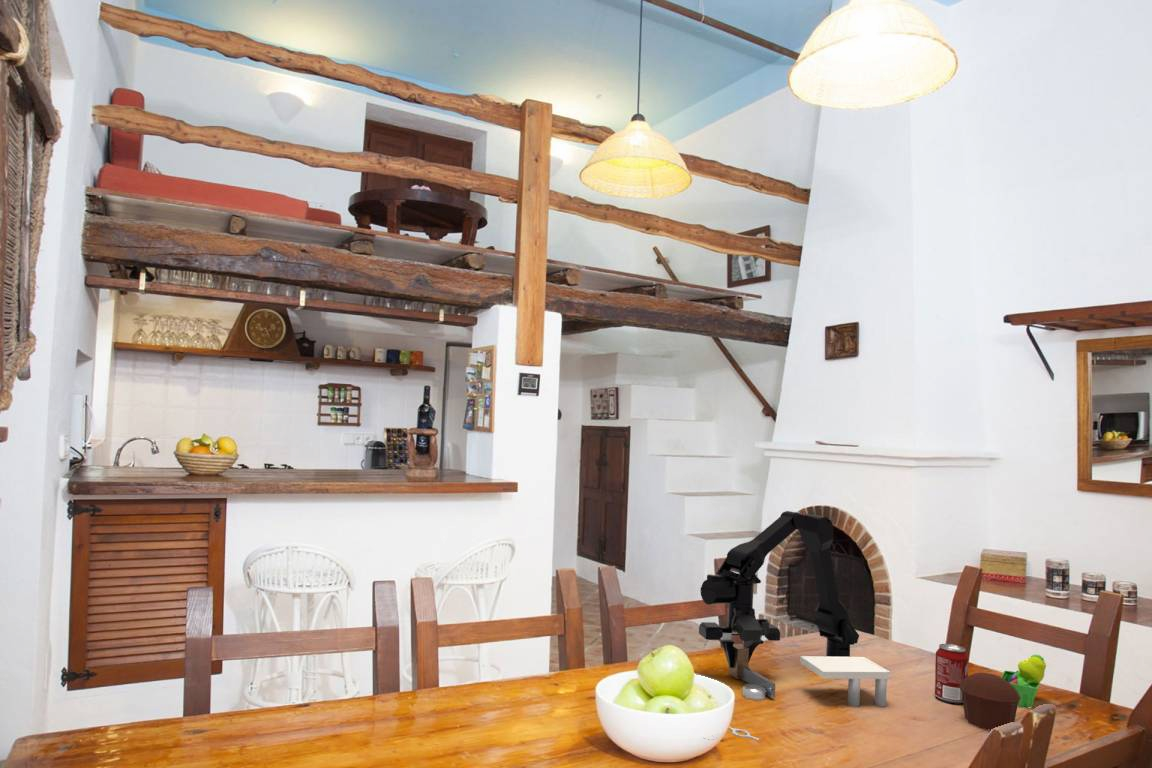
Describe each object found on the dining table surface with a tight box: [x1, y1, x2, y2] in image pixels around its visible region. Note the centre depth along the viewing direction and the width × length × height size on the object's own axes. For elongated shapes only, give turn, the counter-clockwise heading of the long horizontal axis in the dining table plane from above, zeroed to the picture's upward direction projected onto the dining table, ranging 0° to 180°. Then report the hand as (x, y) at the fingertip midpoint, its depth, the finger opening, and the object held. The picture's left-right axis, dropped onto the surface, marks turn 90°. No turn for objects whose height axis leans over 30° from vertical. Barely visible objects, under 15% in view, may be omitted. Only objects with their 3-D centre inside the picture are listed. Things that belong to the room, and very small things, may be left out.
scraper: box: [728, 643, 776, 699], centre depth 177 cm, size 17×3×7 cm, turn 18°
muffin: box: [959, 672, 1021, 731], centre depth 163 cm, size 12×11×10 cm
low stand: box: [799, 655, 891, 708], centre depth 174 cm, size 11×16×8 cm
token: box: [741, 683, 766, 701], centre depth 171 cm, size 5×5×2 cm
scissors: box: [728, 726, 760, 742], centre depth 154 cm, size 11×1×20 cm
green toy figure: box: [1000, 653, 1047, 708], centre depth 179 cm, size 11×9×11 cm
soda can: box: [934, 643, 969, 705], centre depth 177 cm, size 7×7×12 cm
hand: (737, 667), depth 184 cm, fingers closed on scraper, 3 cm apart
